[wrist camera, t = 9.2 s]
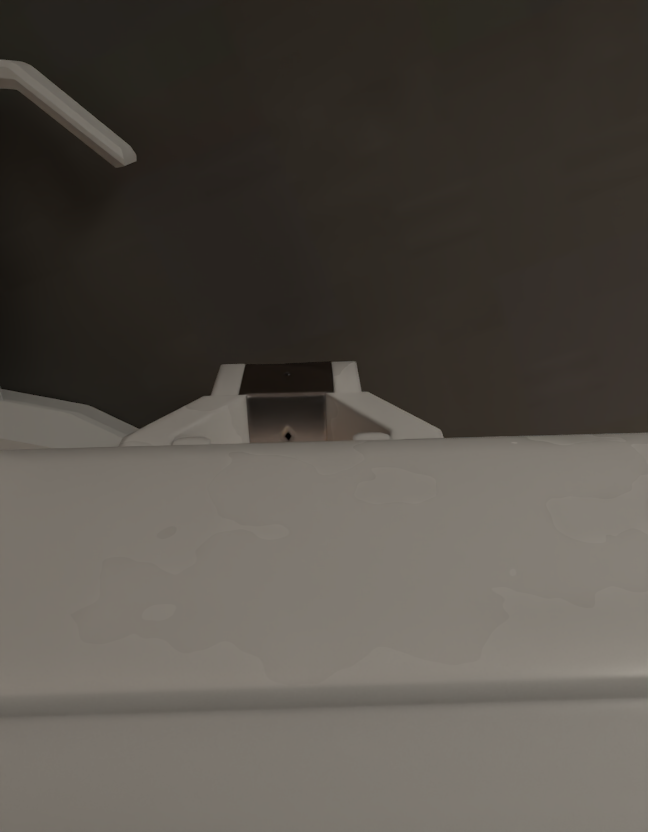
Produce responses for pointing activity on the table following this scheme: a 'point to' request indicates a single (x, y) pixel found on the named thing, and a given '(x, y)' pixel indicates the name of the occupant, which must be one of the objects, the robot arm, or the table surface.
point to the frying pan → (35, 415)
